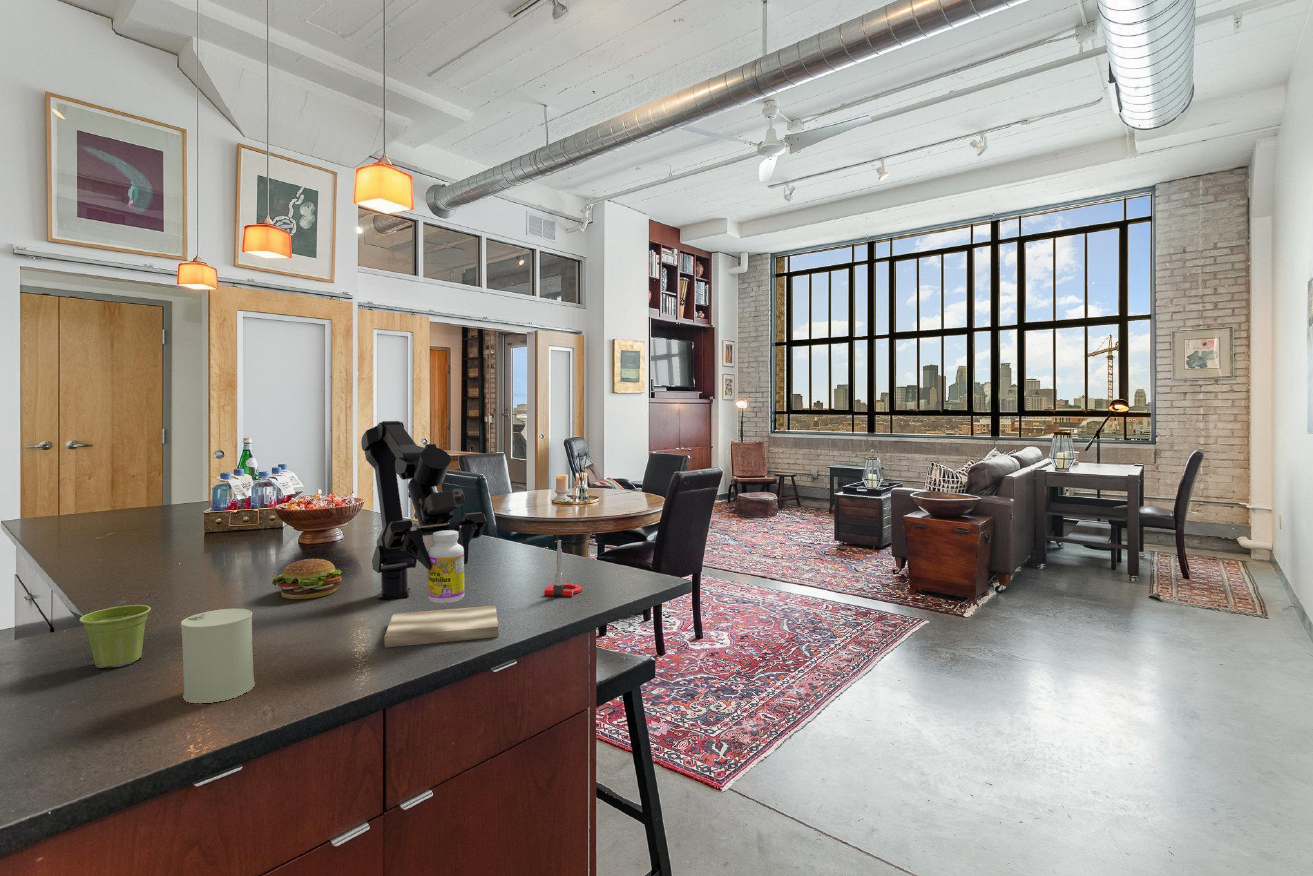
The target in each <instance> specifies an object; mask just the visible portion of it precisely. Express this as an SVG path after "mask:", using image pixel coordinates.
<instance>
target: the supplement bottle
mask: <svg viewBox="0 0 1313 876" xmlns="http://www.w3.org/2000/svg"><path fill="white" fill-rule="evenodd" d="M458 538H459V537H458V531H454V530H445V531H437V532H434V533H433V535H432V541H433V545H431V546H430V547H429V548H428V550H427V552H428V555H429V557H430V560H431V565H432V568H431V570H428V569H427V590H428V591H427V595H428V600H429V601H430V602H432V603H436V604H448V603H449V604H450V603H454V602H455V603H456V602H458V601H460V600H462V599H463V598H464V597H465V564H464V549H463V547H462V546H461V545H460V544H458V543H457V540H458Z"/></svg>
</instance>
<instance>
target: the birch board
mask: <svg viewBox="0 0 1313 876" xmlns="http://www.w3.org/2000/svg"><path fill="white" fill-rule="evenodd" d="M490 638H499V622H498V613H497V605H485V606H473V607H461V608H447V609H437V610H423V611H411V612H401V613H393V614H392V616H391V619H390V621H389V623H388V626H387V628H386V631H385V635H384V639H383V640H384V648H392V647H395V648H396V647H405V646H415V645H426V644H437V643H447V642H458V641H460V642H461V641H468V640H470V641H471V640H481V639H490Z"/></svg>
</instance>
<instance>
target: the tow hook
mask: <svg viewBox="0 0 1313 876" xmlns="http://www.w3.org/2000/svg"><path fill="white" fill-rule="evenodd" d="M562 555H563V549H562V540H561V539H558V540H557V548H556V566H555V567H556V571H555V577H554V578H555V582H554V584H551V585H547V586H546V587H545V589H544V592H543V594H544V596H548V597H551V596H552V597H559V598H560V597H568V598H569V597H573V596H574V595H575V594H579V593H581V592H582V591H583V586H581V585H579V584H576V583H563V573H562V571H563V570H562V567H563V565H562V564H563V561H562V560H563V559H562V558H563V556H562Z"/></svg>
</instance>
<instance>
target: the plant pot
mask: <svg viewBox="0 0 1313 876" xmlns="http://www.w3.org/2000/svg"><path fill="white" fill-rule="evenodd" d="M151 610H152V608H151V606H149V605H145V604H134V605H133V604H130V605H122V606H121V605H120V606H115V607H108V608H103V609H100V610H96V611H92V612H90V613H87V614H85V615H83V616H81V617H80V618H79V623H81V624H83V627H84V630H85V631H86V632H87V637H88V639H89V640H88V641H89V643H90V644H89V645H90V649H91V653H92V657H93V661H94V665H98V666H113V665H120V664H124V663H129V662H133V661H135V660H137V661H138V660H140V659H139V658H140V657H141V658H142V654H143V644H144V635H145V627H146V621H147V620H148V615H149V613H150V612H151Z"/></svg>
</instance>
